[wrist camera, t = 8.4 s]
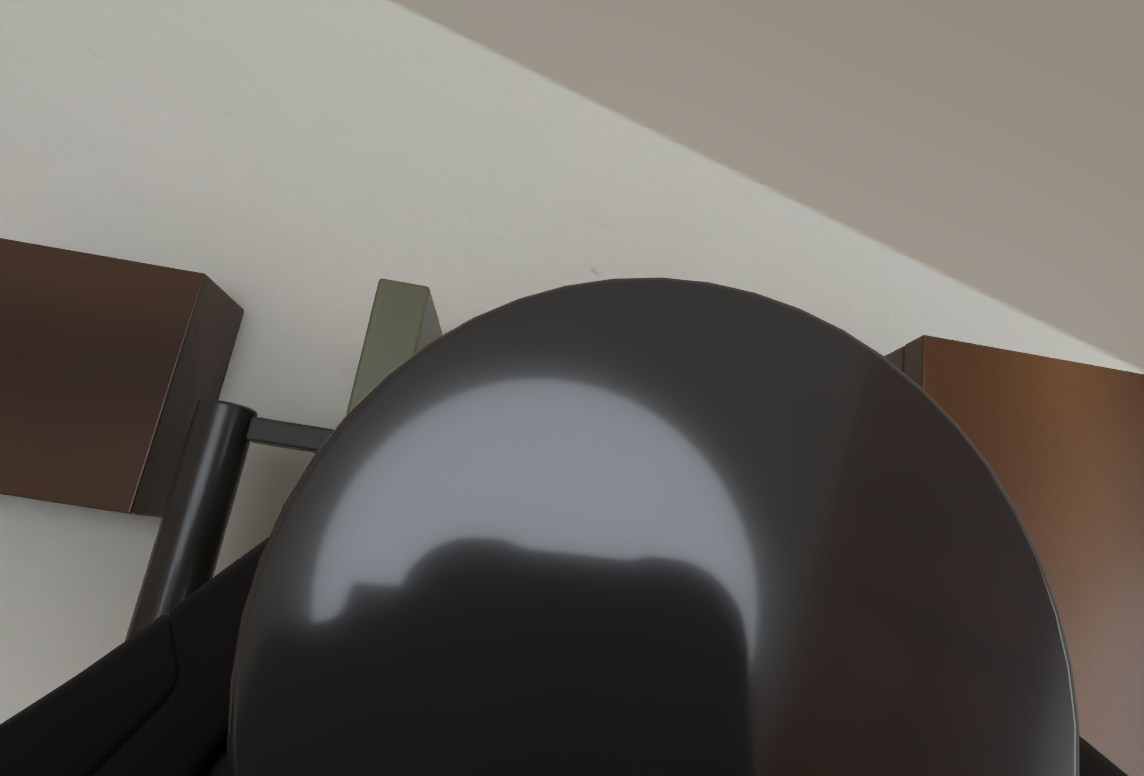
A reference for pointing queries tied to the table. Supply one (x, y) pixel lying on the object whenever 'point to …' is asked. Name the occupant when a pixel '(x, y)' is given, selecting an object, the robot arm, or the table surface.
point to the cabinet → (1065, 505)
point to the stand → (103, 374)
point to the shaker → (650, 563)
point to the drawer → (228, 428)
